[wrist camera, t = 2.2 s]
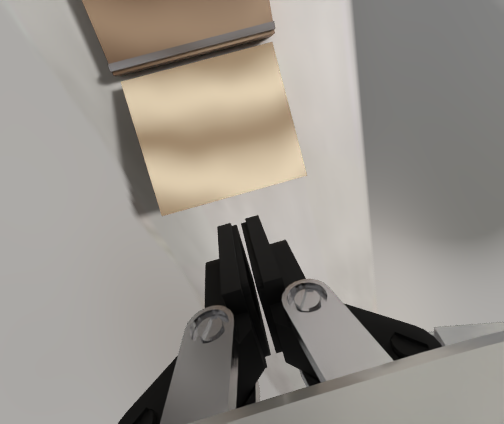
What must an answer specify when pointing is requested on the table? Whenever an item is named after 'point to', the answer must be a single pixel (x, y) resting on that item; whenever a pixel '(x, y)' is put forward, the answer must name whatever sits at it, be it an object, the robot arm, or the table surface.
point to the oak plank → (215, 128)
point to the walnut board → (173, 29)
